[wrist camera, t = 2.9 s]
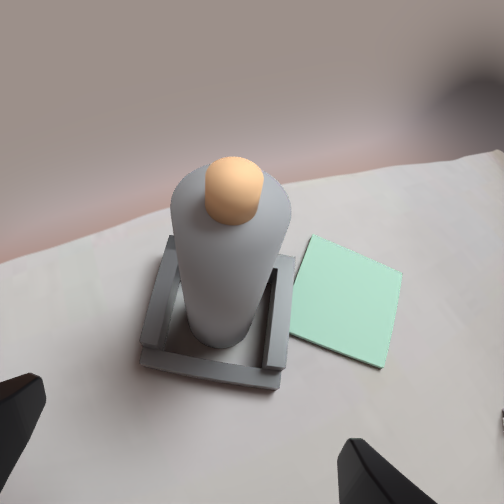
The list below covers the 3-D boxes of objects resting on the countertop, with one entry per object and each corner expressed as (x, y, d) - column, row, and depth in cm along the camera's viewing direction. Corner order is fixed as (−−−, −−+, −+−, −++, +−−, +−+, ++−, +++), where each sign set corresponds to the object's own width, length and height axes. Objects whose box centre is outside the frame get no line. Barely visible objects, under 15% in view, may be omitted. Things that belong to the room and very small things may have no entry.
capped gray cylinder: (199, 356, 22) (186, 248, 9) (180, 299, 24) (156, 147, 11) (260, 336, 23) (323, 213, 10) (238, 282, 25) (269, 127, 12)
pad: (381, 368, 22) (383, 367, 22) (276, 328, 23) (277, 326, 23) (400, 275, 27) (402, 273, 27) (311, 236, 28) (312, 233, 28)
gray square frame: (276, 390, 21) (283, 385, 19) (142, 366, 21) (135, 358, 18) (288, 272, 26) (295, 257, 24) (172, 252, 25) (169, 234, 23)
